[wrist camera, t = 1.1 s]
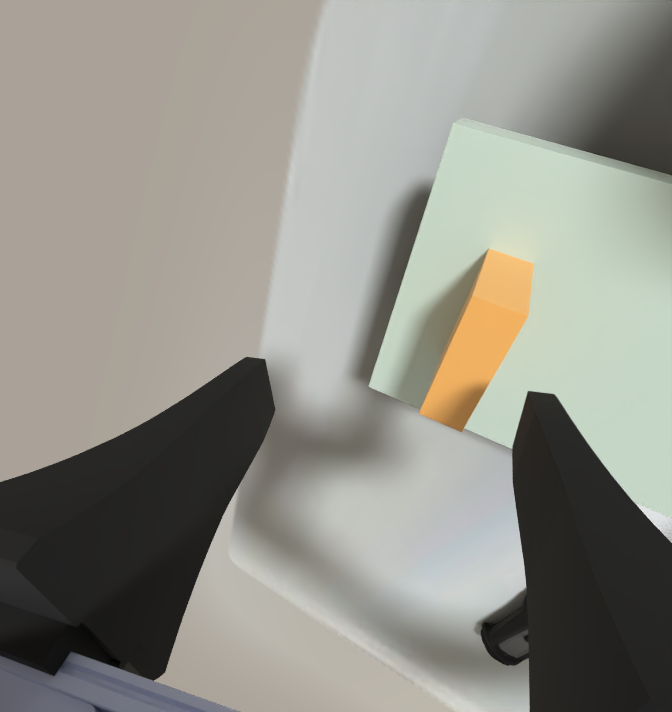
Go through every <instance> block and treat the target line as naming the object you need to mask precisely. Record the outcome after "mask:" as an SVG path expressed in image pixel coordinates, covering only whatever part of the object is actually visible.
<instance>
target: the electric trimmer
mask: <svg viewBox="0 0 672 712" xmlns="http://www.w3.org/2000/svg"><path fill="white" fill-rule="evenodd" d="M481 637H482V641H483V643H484V645H485V648H486V649H487V651H488V653H489V654H490V655H491V657H493V658H494V659H496V660H497V661H499V662H501V663H502V664H505V665H507V666H509V665H517V664H519V663H520V662H522V661H523V660H525V659H527V658H529V641H528V611H527V595H526V597H525V600H524V605H523V607H522V608H521V609H519V610H518V611H516V612H515V613H513V614H511V615H510V616H508V617H507V618H505V619H504V620H502V621H501V622H499V623H497V624H496V625H494V626H492V625H490V624H488V623H486V622H485V623H483V625H482V629H481Z"/></svg>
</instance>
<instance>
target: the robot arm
mask: <svg viewBox="0 0 672 712" xmlns="http://www.w3.org/2000/svg"><path fill="white" fill-rule="evenodd" d="M274 412H275V406H274V401H273V396H272V391H271V386H270V381H269V376H268V371H267V367H266V362H265V359H259V358H251V357H246V358H244V359H242V360H241V361H239V362H238V363H236V364H234V365H233V366H232V367H230V368H229V369H227V370H226V371H224V372H223V373H221V374H220V375H219V376H217V377H215V378H214V379H213V380H211V381H210V382H208V383H207V384H205V385H204V386H202V387H201V388H199V389H198V390H196V391H195V392H193V393H192V394H190V395H189V396H187V397H186V398H184V399H183V400H181V401H179V402H178V403H176V404H175V405H173V406H171V407H170V408H168V409H166V410H165V411H164V412H162V413H160V414H158V415H157V416H155V417H153V418H152V419H150V420H148V421H146V422H144V423H143V424H141V425H139V426H137V427H135V428H133V429H131V430H129V431H127V432H125V433H124V434H122V435H120V436H118V437H116V438H114V439H111V440H109V441H107V442H105V443H102V444H100V445H98V446H96V447H94V448H92V449H89V450H87V451H85V452H82V453H80V454H78V455H75V456H73V457H71V458H68V459H65V460H63V461H60V462H58V463H55V464H53V465H50V466H47V467H44V468H42V469H39V470H36V471H33V472H30V473H28V474H24V475H22V476H19V477H15V478H12V479H9V480H6V481H3V482H0V712H239V711H236V710H234V709H231V708H228V707H225V706H222V705H220V704H217V703H214V702H211V701H208V700H206V699H203V698H200V697H197V696H194V695H191V694H188V693H186V692H183V691H180V690H177V689H175V688H172V687H169V686H166V685H163V684H160V683H158V682H155V681H154V680H155V679H157V678H159V677H160V676H161V675H163V673H165V671H166V668H167V664H168V661H169V658H170V655H171V652H172V648H173V645H174V643H175V640H176V636H177V633H178V630H179V627H180V624H181V621H182V618H183V615H184V613H185V610H186V607H187V604H188V601H189V599H190V596H191V593H192V590H193V588H194V585H195V582H196V580H197V577H198V575H199V572H200V570H201V567H202V565H203V562H204V559H205V557H206V554H207V552H208V549H209V547H210V544H211V542H212V539H213V537H214V535H215V533H216V530H217V528H218V526H219V523H220V521H221V519H222V516H223V514H224V512H225V510H226V508H227V506H228V504H229V502H230V501H231V499H232V497H233V495H234V493H235V492H236V490H237V488H238V486H239V484H240V483H241V481H242V479H243V477H244V475H245V474H246V472H247V470H248V468H249V466H250V465H251V463H252V461H253V459H254V457H255V455H256V454H257V452H258V450H259V448H260V446H261V444H262V442H263V440H264V438H265V436H266V433H267V431H268V428H269V426H270V423H271V420H272V418H273V415H274ZM512 460H513V487H514V495H515V502H516V509H517V517H518V524H519V531H520V538H521V545H522V552H523V559H524V566H525V576H526V587H527V611H528V641H529V687H530V712H672V543H671V542H670V541H669V540H668V539H667V538H666V537H665V536H664V535H663V534H662V533H661V531H660V530H659V529H658V528H657V527H656V526H655V525H654V524H653V523H652V522H651V521H650V520H649V519H648V518H647V516H646V515H645V514H644V513H643V512H642V511H641V510H640V509H639V507H638V506H637V505H636V504H635V503H634V502H633V501H632V499H631V498H630V497H629V496H628V495H627V493H626V492H625V491H624V490H623V488H622V487H621V486H620V485H619V484H618V482H617V481H616V480H615V479H614V477H613V476H612V475H611V474H610V472H609V471H608V470H607V468H606V467H605V466H604V464H603V463H602V462H601V460H600V459H599V458H598V456H597V455H596V454H595V452H594V451H593V450H592V448H591V447H590V445H589V444H588V443H587V441H586V440H585V438H584V437H583V436H582V434H581V433H580V431H579V430H578V428H577V427H576V425H575V424H574V422H573V421H572V419H571V418H570V416H569V415H568V413H567V412H566V410H565V408H564V407H563V405H562V404H561V402H560V401H559V399H558V398H557V396H556V395H555V394H550V393H542V392H534V391H528V392H527V396H526V399H525V403H524V407H523V410H522V414H521V417H520V421H519V424H518V428H517V432H516V435H515V439H514V442H513V446H512Z"/></svg>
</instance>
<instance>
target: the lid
mask: <svg viewBox="0 0 672 712" xmlns="http://www.w3.org/2000/svg"><path fill="white" fill-rule="evenodd" d="M368 387H370V388H373V389H375V390H377V391H379V392H382V393H384V394H386V395H389V396H391V397H393V398H396V399H398V400H400V401H402V402H405V403H407V404H409V405H412V406H414V407H416V408H419V409H420V412H419V414H421V415H424V416H426V417H428V418H430V419H433V420H435V421H437V422H440V423H442V424H444V425H446V426H449V427H451V428H453V429H456V430H458V431H460V432H462V430H463V429H464V428H465V429H467V430H469V431H472V432H474V433H476V434H479V435H481V436H483V437H485V438H488V439H490V440H492V441H495V442H497V443H499V444H502V445H504V446H506V447H509V448H511V449H512V446H513V442H514V439H515V435H516V432H517V428H518V424H519V421H520V417H521V414H522V410H523V407H524V403H525V399H526V396H527V392H528V391H534V392H542V393H550V394H555V395H556V396H557V398H558V399H559V401H560V402H561V404H562V405H563V407H564V408H565V410H566V412H567V413H568V415H569V416H570V418H571V419H572V421H573V422H574V424H575V425H576V427H577V428H578V430H579V431H580V433H581V434H582V436H583V437H584V438H585V440H586V441H587V443H588V444H589V445H590V447H591V448H592V450H593V451H594V452H595V454H596V455H597V456H598V458H599V459H600V460H601V462H602V463H603V464H604V466H605V467H606V468H607V470H608V471H609V472H610V474H611V475H612V476H613V477H614V479H615V480H616V481H617V482H618V484H619V485H620V486H621V487H622V488H623V490H624V491H625V492H626V493H627V495H628V496H629V497H630V498H631V499H632V501H633V502H635V503H638V504H640V505H642V506H645V507H647V508H649V509H651V510H654V511H656V512H658V513H661V514H663V515H665V516H668V517H670V518H672V175H669V174H665V173H662V172H658V171H654V170H651V169H647V168H644V167H640V166H636V165H633V164H629V163H625V162H622V161H618V160H615V159H611V158H607V157H604V156H600V155H596V154H593V153H589V152H586V151H582V150H578V149H575V148H571V147H567V146H564V145H560V144H556V143H553V142H549V141H546V140H542V139H538V138H535V137H531V136H527V135H524V134H520V133H517V132H513V131H509V130H506V129H502V128H498V127H495V126H491V125H488V124H484V123H480V122H477V121H473V120H469V119H466V118H461V119H459V120H458V121H456V122H454V123H453V125H452V128H451V131H450V134H449V138H448V141H447V144H446V147H445V150H444V153H443V156H442V159H441V162H440V166H439V169H438V172H437V175H436V178H435V181H434V184H433V187H432V190H431V193H430V197H429V200H428V203H427V206H426V209H425V212H424V215H423V218H422V221H421V225H420V228H419V231H418V234H417V237H416V240H415V243H414V246H413V249H412V253H411V256H410V259H409V262H408V265H407V268H406V271H405V274H404V277H403V281H402V284H401V287H400V290H399V293H398V296H397V299H396V302H395V305H394V309H393V312H392V315H391V318H390V321H389V324H388V327H387V330H386V333H385V337H384V340H383V343H382V346H381V349H380V352H379V355H378V358H377V361H376V365H375V368H374V371H373V374H372V377H371V380H370V383H369V386H368Z"/></svg>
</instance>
